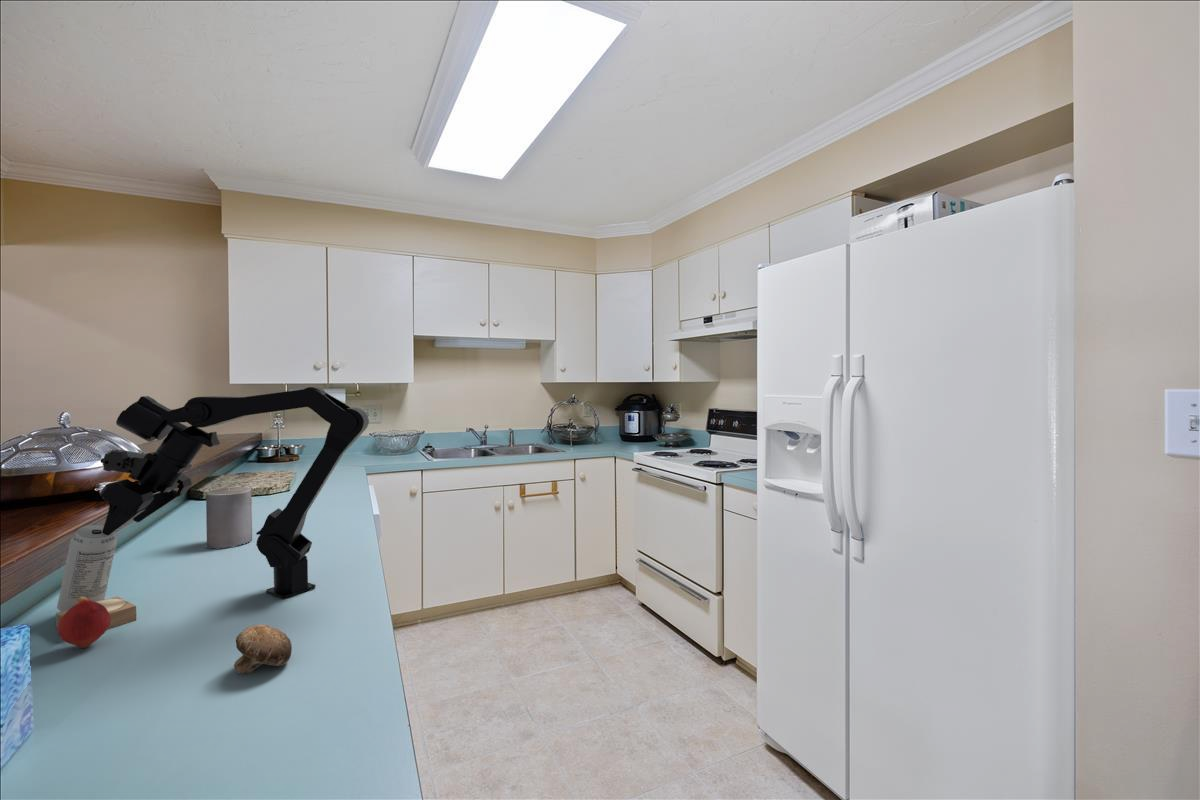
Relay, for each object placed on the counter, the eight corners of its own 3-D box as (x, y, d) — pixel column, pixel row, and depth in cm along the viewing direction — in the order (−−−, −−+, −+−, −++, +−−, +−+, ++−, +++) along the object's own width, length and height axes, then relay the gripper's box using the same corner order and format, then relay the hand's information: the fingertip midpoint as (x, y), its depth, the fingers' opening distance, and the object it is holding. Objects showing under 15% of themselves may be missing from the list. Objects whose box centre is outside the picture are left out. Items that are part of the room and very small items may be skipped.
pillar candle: (211, 540, 139) (210, 484, 138) (255, 536, 143) (254, 481, 142) (202, 551, 130) (200, 490, 129) (249, 546, 134) (248, 487, 133)
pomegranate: (107, 634, 86) (106, 586, 86) (114, 645, 83) (112, 595, 83) (56, 648, 82) (54, 597, 82) (61, 660, 78) (59, 607, 78)
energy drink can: (100, 597, 99) (115, 522, 97) (105, 614, 95) (122, 535, 94) (54, 604, 94) (70, 524, 93) (58, 621, 90) (74, 539, 89)
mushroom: (208, 663, 71) (241, 618, 74) (231, 658, 79) (260, 617, 81) (262, 689, 72) (293, 643, 75) (280, 682, 79) (307, 640, 82)
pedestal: (136, 620, 92) (136, 604, 92) (73, 639, 85) (73, 622, 85) (117, 610, 96) (117, 594, 96) (56, 627, 89) (55, 611, 89)
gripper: (158, 428, 106) (108, 495, 104) (98, 436, 88) (36, 517, 86) (212, 457, 109) (164, 523, 107) (165, 470, 91) (106, 550, 89)
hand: (121, 527), depth 97 cm, fingers open, 9 cm apart
